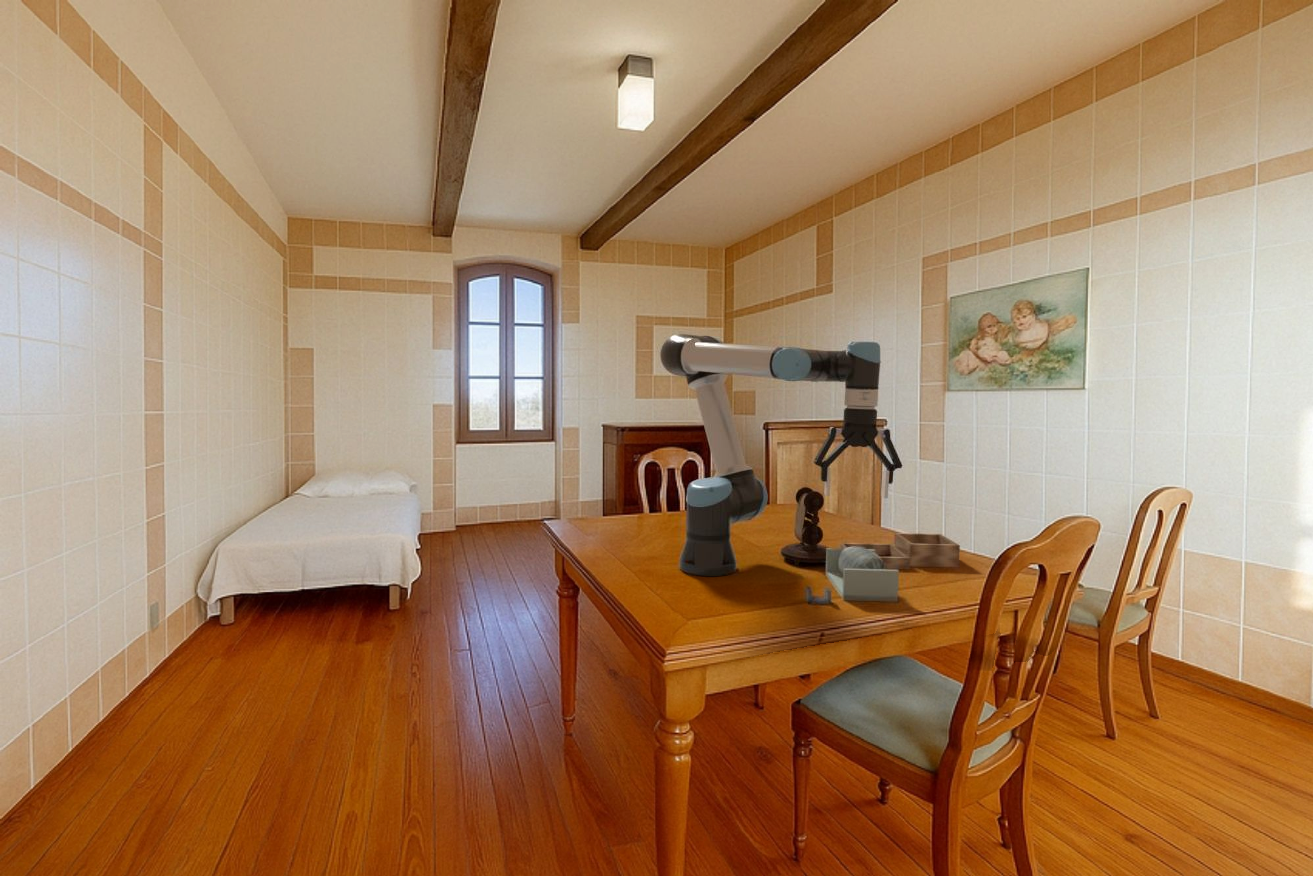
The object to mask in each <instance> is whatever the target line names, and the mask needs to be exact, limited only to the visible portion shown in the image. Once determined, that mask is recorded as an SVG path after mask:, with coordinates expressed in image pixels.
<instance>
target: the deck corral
mask: <svg viewBox="0 0 1313 876" xmlns="http://www.w3.org/2000/svg"><path fill="white" fill-rule="evenodd" d="M851 546H857V547H863V548H866V549H874V550H876V554H877V555H878V556H879V557H880V558H881V559H882V560H883V563H884V567H885V569H890V570H910V567H911V566H910V558H909V557H908V556H907V555H905V554H904V553H903V552H901V551H900V550H899V549H898V548H896V547H895V546H894V544H892V543H866V542H865V543H864V542H862V543H860V542H859V543H858V542H839V543H838V548H840V549H845V548H847V547H851Z"/></svg>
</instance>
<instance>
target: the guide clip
mask: <svg viewBox="0 0 1313 876" xmlns="http://www.w3.org/2000/svg"><path fill="white" fill-rule="evenodd" d="M805 600H806V602H807V604H809V605H832V590H831V589H830V587H829V586H824V596H823V595H813V590H812V588H811V586H809V585H808V586H807V585H806V586H805Z"/></svg>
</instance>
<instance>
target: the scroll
mask: <svg viewBox="0 0 1313 876" xmlns="http://www.w3.org/2000/svg"><path fill="white" fill-rule="evenodd" d="M795 501H796V503H797V506H796V512H795V517H794V518H795V519H794V530H793V532H794V536H795V538H796V539H797V540H798V541H799V542H795V543H790V544H787V545H785V546H783V547H781V548H780V555H781V556H782V557H783V558H786V559H788V560H790V561H794V563H795V567H797V566H799V564H800V562H801V563H813V564H815V563H816V564H819V563H826V548H829V547H827V546H826V545H822V544H820V543H821V542H822V540H823V537H824V532H823V530H822V528H821V527H820V526H819V523H820V517H819V511H820V510H821V509H822V508H823V507H824V505H825V498H824V496H823V495H822V493H821V492H819V491H816V490H813V489H812V488H810V487H808V486H804V487H801V488H799V489H798V490H797V491H796V494H795Z"/></svg>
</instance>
